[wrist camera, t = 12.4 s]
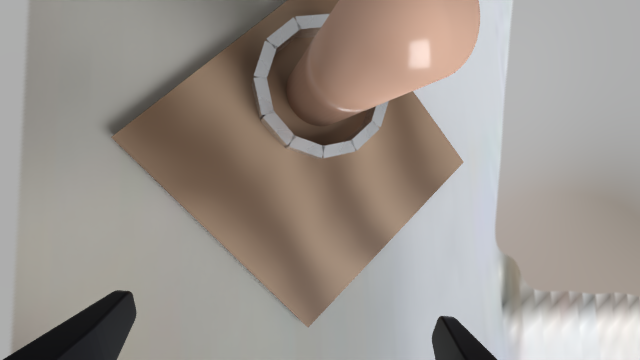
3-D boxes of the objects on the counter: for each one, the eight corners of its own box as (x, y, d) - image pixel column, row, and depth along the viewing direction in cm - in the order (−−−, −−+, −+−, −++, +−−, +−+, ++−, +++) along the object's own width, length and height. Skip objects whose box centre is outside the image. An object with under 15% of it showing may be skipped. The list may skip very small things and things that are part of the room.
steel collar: (315, 183, 22) (321, 184, 21) (224, 79, 20) (223, 72, 19) (400, 102, 24) (412, 98, 22) (324, -2, 22) (331, -14, 20)
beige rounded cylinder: (344, 132, 22) (467, 97, 11) (280, 117, 21) (343, 58, 10) (356, 68, 23) (490, -34, 11) (293, 48, 21) (371, -92, 10)
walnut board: (305, 322, 23) (308, 327, 22) (115, 138, 19) (111, 137, 18) (456, 162, 26) (463, 161, 26) (322, -23, 22) (326, -30, 22)
